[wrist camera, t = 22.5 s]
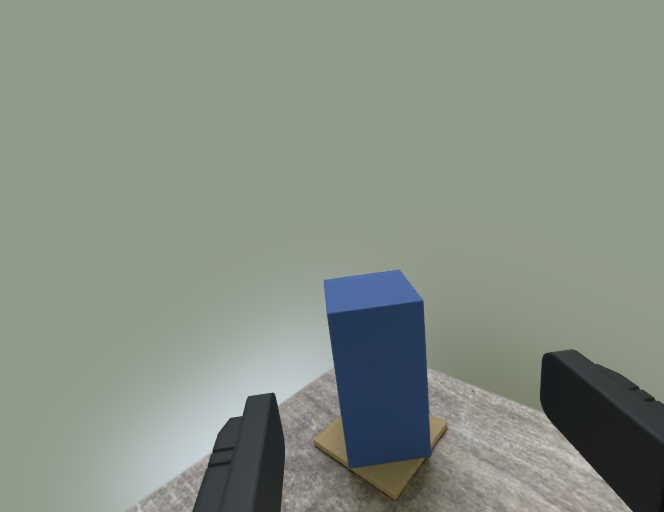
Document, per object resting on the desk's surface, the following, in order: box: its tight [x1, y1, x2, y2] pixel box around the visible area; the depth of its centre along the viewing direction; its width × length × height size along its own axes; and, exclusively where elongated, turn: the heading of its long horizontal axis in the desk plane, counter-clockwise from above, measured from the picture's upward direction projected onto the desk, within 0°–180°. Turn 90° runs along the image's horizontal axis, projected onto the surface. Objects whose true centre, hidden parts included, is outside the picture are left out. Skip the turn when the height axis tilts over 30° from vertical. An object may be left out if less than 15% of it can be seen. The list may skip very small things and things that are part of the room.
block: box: [324, 270, 431, 468], centre depth 19 cm, size 4×4×9 cm
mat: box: [314, 414, 447, 500], centre depth 20 cm, size 6×6×1 cm
